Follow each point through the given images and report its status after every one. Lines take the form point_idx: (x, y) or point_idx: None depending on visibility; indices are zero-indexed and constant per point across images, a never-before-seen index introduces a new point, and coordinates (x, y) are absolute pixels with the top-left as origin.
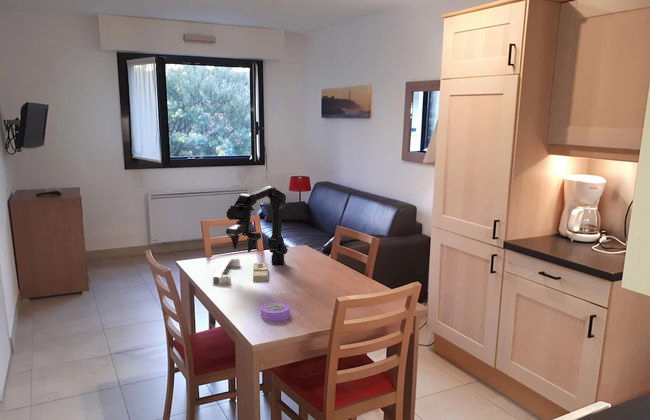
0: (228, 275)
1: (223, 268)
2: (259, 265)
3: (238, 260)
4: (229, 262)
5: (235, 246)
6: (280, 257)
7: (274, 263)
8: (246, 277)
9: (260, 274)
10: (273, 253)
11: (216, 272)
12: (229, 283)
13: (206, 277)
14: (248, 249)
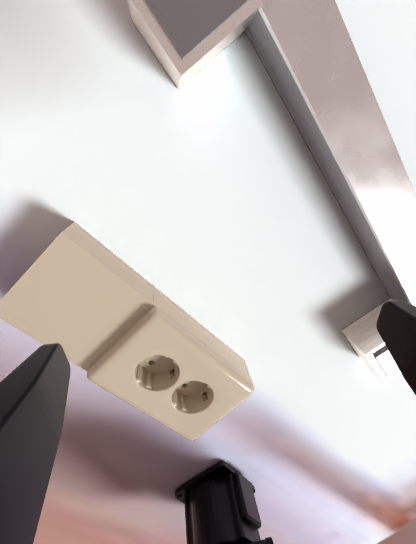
0: (177, 34)
1: (363, 179)
2: (209, 396)
3: (377, 363)
4: None
5: (412, 345)
6: (195, 529)
7: (219, 475)
8: (171, 243)
9: (49, 290)
10: (238, 538)
11: (348, 47)
12: (135, 22)
13: (408, 39)
14: (9, 380)
